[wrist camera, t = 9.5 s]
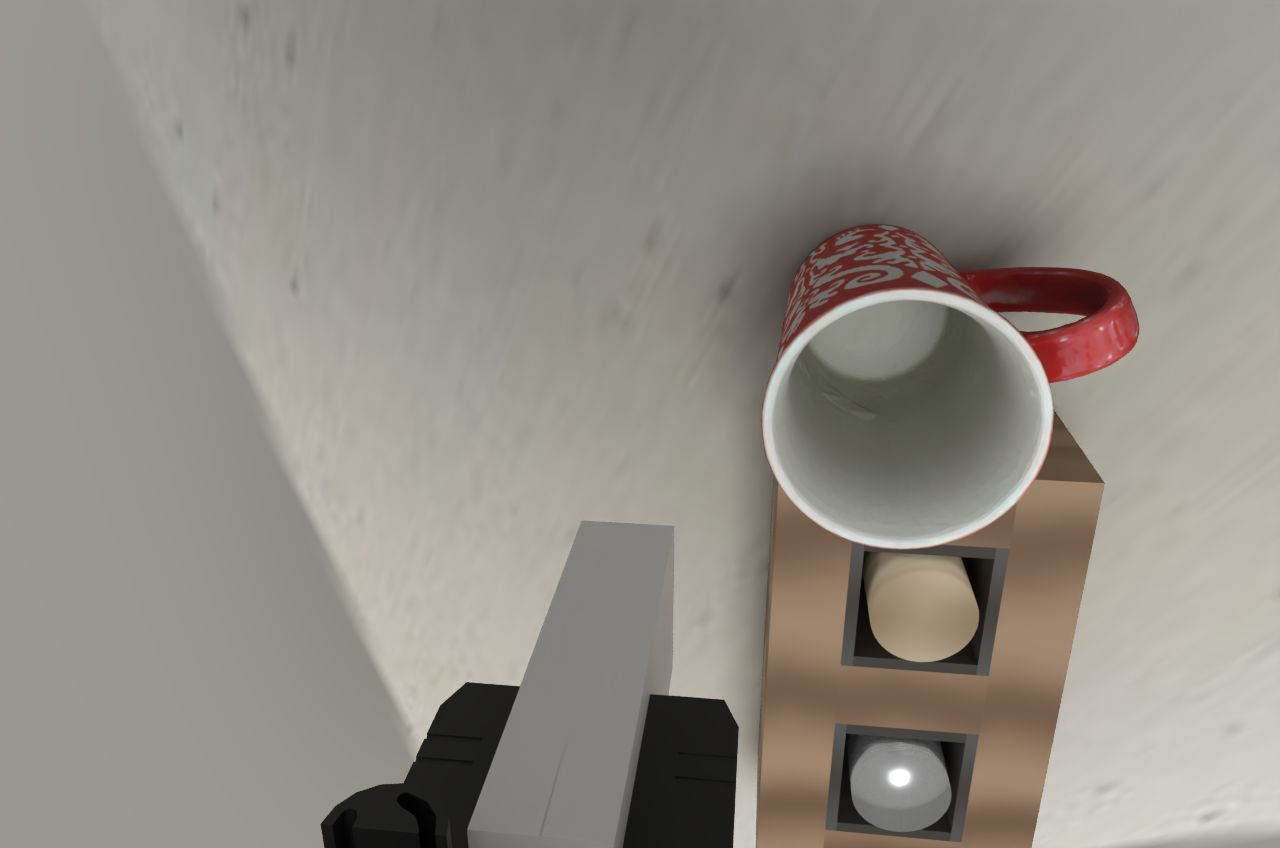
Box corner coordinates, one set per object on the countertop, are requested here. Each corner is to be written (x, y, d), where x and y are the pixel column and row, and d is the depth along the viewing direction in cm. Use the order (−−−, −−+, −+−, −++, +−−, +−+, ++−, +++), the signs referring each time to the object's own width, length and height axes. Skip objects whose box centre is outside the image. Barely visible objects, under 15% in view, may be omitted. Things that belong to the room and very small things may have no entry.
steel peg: (844, 648, 49) (855, 751, 42) (931, 654, 49) (957, 760, 42) (837, 716, 51) (847, 827, 44) (921, 723, 50) (945, 836, 44)
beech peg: (859, 484, 46) (874, 568, 39) (953, 489, 45) (985, 575, 38) (852, 563, 47) (865, 658, 41) (942, 569, 47) (971, 665, 40)
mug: (798, 426, 46) (807, 579, 34) (738, 242, 43) (725, 337, 31) (1080, 348, 43) (1202, 485, 31) (1037, 145, 40) (1153, 207, 28)
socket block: (778, 392, 46) (779, 466, 38) (1050, 404, 44) (1104, 483, 37) (757, 755, 54) (755, 873, 47) (986, 774, 53) (1021, 899, 45)
